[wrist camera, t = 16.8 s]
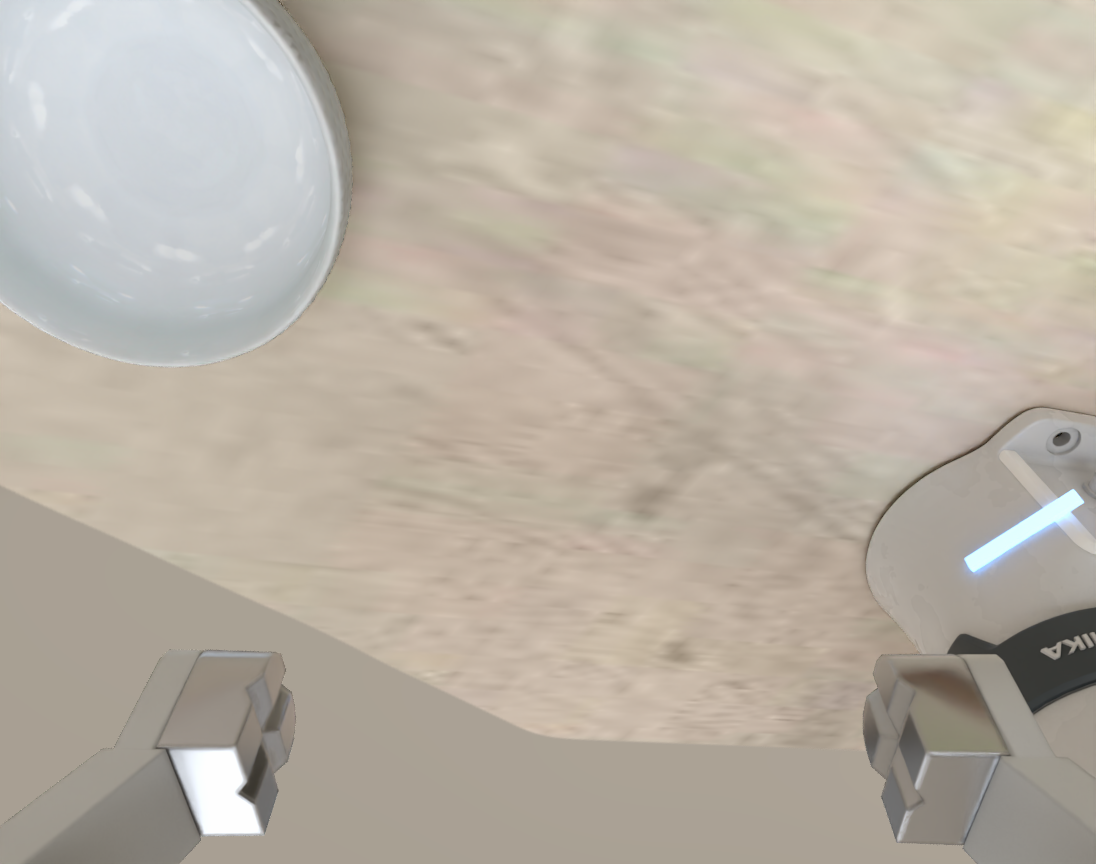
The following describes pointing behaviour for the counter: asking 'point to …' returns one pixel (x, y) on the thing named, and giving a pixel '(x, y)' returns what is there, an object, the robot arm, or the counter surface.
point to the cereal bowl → (166, 175)
